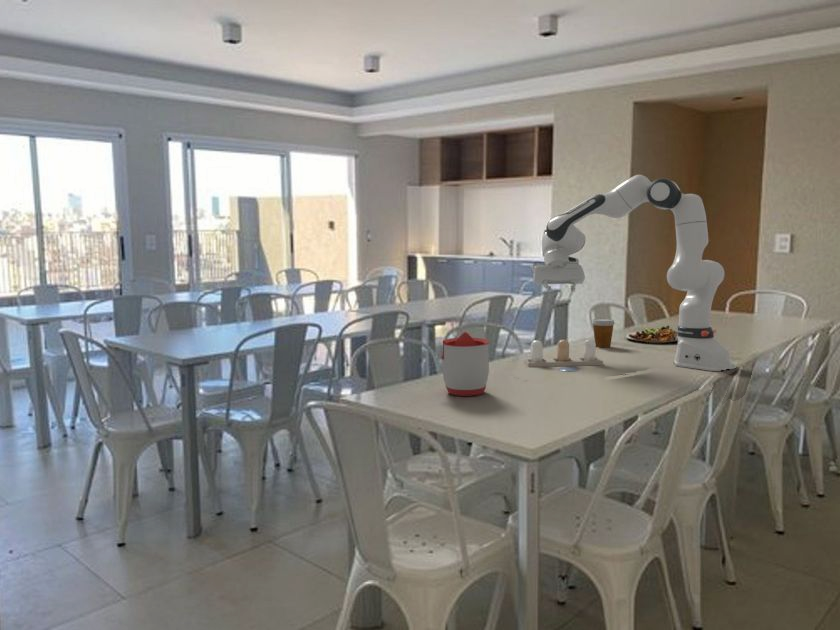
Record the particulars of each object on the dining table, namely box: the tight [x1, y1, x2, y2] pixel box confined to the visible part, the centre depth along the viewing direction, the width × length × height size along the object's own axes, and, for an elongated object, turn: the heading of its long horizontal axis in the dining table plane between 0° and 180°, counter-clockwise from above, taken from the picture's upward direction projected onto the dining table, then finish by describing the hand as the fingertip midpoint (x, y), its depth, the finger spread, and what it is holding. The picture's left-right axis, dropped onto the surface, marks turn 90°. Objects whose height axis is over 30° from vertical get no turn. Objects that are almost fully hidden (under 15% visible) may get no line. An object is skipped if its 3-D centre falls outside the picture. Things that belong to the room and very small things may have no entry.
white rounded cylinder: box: [582, 338, 597, 361], centre depth 265 cm, size 4×4×9 cm
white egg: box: [530, 340, 544, 362], centre depth 264 cm, size 4×4×9 cm
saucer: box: [556, 366, 580, 373], centre depth 254 cm, size 8×8×1 cm
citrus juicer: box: [435, 331, 490, 397], centre depth 227 cm, size 16×17×20 cm
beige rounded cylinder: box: [556, 339, 570, 362], centre depth 264 cm, size 4×4×9 cm
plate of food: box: [624, 325, 678, 344], centre depth 321 cm, size 28×28×6 cm
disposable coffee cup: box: [591, 317, 616, 349], centre depth 304 cm, size 10×10×12 cm
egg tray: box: [523, 356, 605, 368], centre depth 265 cm, size 29×8×3 cm, turn 92°
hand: (561, 290), depth 276 cm, fingers open, 8 cm apart
